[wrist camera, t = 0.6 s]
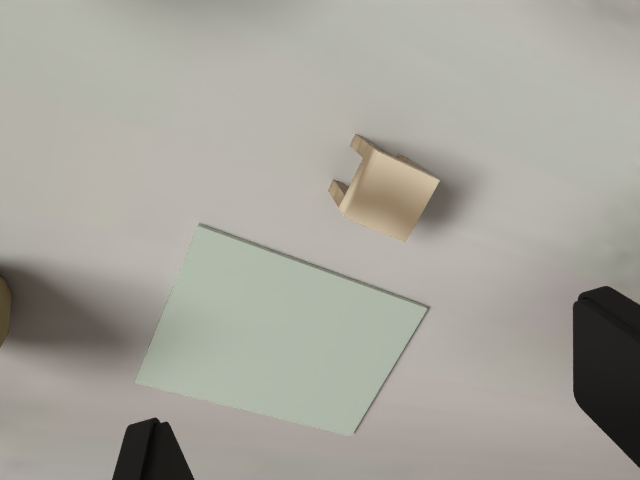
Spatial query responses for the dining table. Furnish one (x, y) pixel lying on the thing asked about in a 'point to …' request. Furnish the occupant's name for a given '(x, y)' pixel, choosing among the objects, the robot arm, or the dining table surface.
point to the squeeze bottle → (4, 309)
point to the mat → (276, 335)
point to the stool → (384, 191)
